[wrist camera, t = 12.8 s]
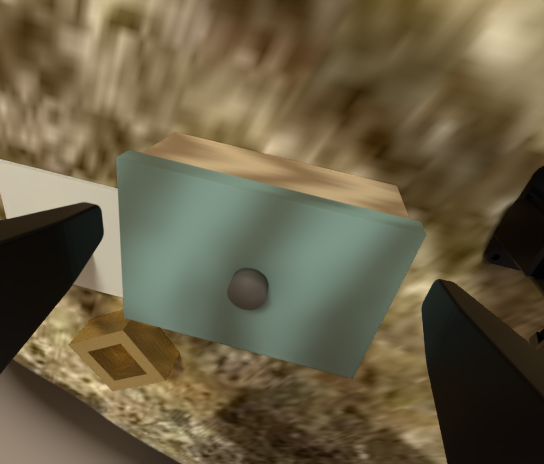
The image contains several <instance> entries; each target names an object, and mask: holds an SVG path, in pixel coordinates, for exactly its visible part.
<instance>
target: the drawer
mask: <svg viewBox="0 0 544 464" xmlns="http://www.w3.org/2000/svg"><path fill="white" fill-rule="evenodd" d="M116 165H117V185H118V206H119V226H120V246H121V267H122V287H123V308H124V318H126V319H130V320H134V321H137V322H141V323H145V324H149V325H152V326H156V327H160V328H164V329H167V330H171V331H175V332H179V333H182V334H186V335H190V336H194V337H197V338H201V339H205V340H209V341H212V342H216V343H220V344H224V345H227V346H231V347H235V348H239V349H242V350H246V351H250V352H254V353H257V354H261V355H265V356H269V357H272V358H276V359H280V360H284V361H287V362H291V363H295V364H299V365H302V366H306V367H310V368H314V369H317V370H321V371H325V372H329V373H332V374H336V375H340V376H343V377H347V378H351V379H353V377H354V375H355V373H356V371H357V369H358V368H359V366H360V364H361V362H362V360H363V358H364V356H365V354H366V352H367V350H368V348H369V346H370V344H371V342H372V340H373V338H374V336H375V334H376V332H377V330H378V328H379V326H380V324H381V322H382V321H383V319H384V317H385V315H386V313H387V311H388V309H389V307H390V305H391V303H392V301H393V299H394V297H395V295H396V293H397V291H398V289H399V287H400V285H401V283H402V281H403V279H404V277H405V275H406V273H407V272H408V270H409V268H410V266H411V264H412V262H413V260H414V258H415V256H416V254H417V252H418V250H419V248H420V246H421V244H422V242H423V240H424V238H425V236H426V233H425V230H424V228H423V226H422V224H421V222H419V221H415V220H411V219H409V216H408V214H407V211H406V209H405V206H404V203H403V201H402V198H401V196H400V193H399V191H398V188H397V186H395V185H391V184H387V183H383V182H379V181H375V180H371V179H366V178H362V177H358V176H354V175H350V174H346V173H342V172H338V171H334V170H330V169H325V168H321V167H317V166H313V165H309V164H305V163H301V162H297V161H293V160H289V159H284V158H280V157H276V156H272V155H268V154H264V153H260V152H256V151H252V150H248V149H243V148H239V147H235V146H231V145H227V144H223V143H219V142H215V141H211V140H207V139H202V138H198V137H194V136H190V135H186V134H182V133H178V132H174V133H173V134H171V135H170V136H168V137H166V138H165V139H163V140H162V141H160V142H158V143H157V144H155V145H154V146H152V147H151V148H149V149H147V150H146V151H144V152H143V153H140V152H136V151H132V150H128V151H127V152H125V153H123V154H121V155H120V156H118V157H116Z"/></svg>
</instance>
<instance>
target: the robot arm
mask: <svg viewBox="0 0 544 464" xmlns="http://www.w3.org/2000/svg"><path fill="white" fill-rule="evenodd" d="M103 236H104V227H103V218H102V210H101V208H100V206H98V205H96V204H92V203H87V202H81V203H77V204H72V205H68V206H63V207H59V208H54V209H50V210H45V211H41V212H36V213H32V214H27V215H23V216H18V217H14V218H9V219H5V220H0V374H1V373H2V372H3V370H4V369H5V368H6V366H7V365H8V364H9V363H10V362H11V360H12V359H13V358H14V357H15V355H16V354H17V353H18V352H19V351H20V349H21V348H22V347H23V346H24V344H25V343H26V342H27V341H28V339H29V338H30V337H31V336H32V335H33V333H34V332H35V331H36V330H37V328H38V327H39V326H40V325H41V323H42V322H43V321H44V320H45V319H46V317H47V316H48V315H49V314H50V312H51V311H52V310H53V309H54V307H55V306H56V305H57V304H58V303H59V301H60V300H61V299H62V298H63V296H64V295H65V294H66V293H67V291H68V290H69V289H70V288H71V286H72V285H73V284H74V282H75V281H76V279H77V278H78V277H79V275H80V273H81V272H82V270H83V269H84V267H85V266H86V264H87V263H88V261H89V259H90V258H91V256H92V255H93V253H94V252H95V250H96V249H97V247H98V245H99V244H100V242H101V241H102V239H103ZM493 254H497V255H496V256H494V257H491V256H492V255H493ZM484 255H485V258H486V259H487V261H488V262H490V263H492V264H496V265H500V266H504V267H508V268H512V269H516V270H520V271H522V272H523V274H524V275H525V276H526V277H529V278H530V279H531V281H532V282H533V283H534V284H535V286H536V287H537V288H538V290H539V291H540V292H541V293H542V295H543V296H544V166H542V167H541V168H539V169H538V170H537V171H536V173H535V174H534V176H533V178H532V179H531V181H530V182H529V184H528V185H527V187H526V189H525V190H524V192H523V193H522V195H521V196H520V198H518V199H517V200H516V201H515V203H514V204H513V206H512V207H511V209H510V211H509V212H508V214H507V215H506V217H505V218H504V220H503V222H502V223H501V225H500V226H499V228H498V229H497V231H496V233H495V237H494V239H493V240H492V242H491V243H490V245H489V247H488V248H487V250H486V251H485V254H484ZM422 321H423V332H424V343H425V355H426V363H427V368H428V374H429V378H430V383H431V388H432V392H433V397H434V402H435V407H436V411H437V416H438V421H439V426H440V430H441V435H442V440H443V444H444V449H445V454H446V459H447V463H448V464H544V329H543V330H542V331H541V332H536V333H535V334H534V335H533V336H532V337H531V338H529V342H530V343H528V342H527V341H526V340H525V339H524V338H522V337H521V336H520V335H519V334H517V333H516V332H515V331H514V330H512V329H511V328H510V327H509V326H507V325H506V324H505V323H504V322H502V321H501V320H500V319H499V318H498V317H496V316H495V315H494V314H493V313H491V312H490V311H489V310H488V309H486V308H485V307H484V306H483V305H481V304H480V303H479V302H478V301H476V300H475V299H474V298H473V297H472V296H470V295H469V294H468V293H467V292H465V291H464V290H463V289H462V288H460V287H459V286H458V285H457V284H455V283H454V282H451V281H446V280H442V279H438V280H436V281H435V282H434V283H433V284H432V286H431V288H430V290H429V292H428V294H427V296H426V298H425V300H424V302H423V304H422Z"/></svg>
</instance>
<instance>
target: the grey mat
mask: <svg viewBox="0 0 544 464" xmlns="http://www.w3.org/2000/svg"><path fill="white" fill-rule="evenodd" d="M0 193H1V197H2V201H3V205H4V209H5V213H6V217H7V219H9V218H14V217H18V216H23V215H27V214H32V213H36V212H41V211H45V210H50V209H54V208H59V207H63V206H68V205H72V204H77V203H81V202H87V203H92V204H96V205H98V206H100V208H101V210H102V218H103V227H104V236H103V239H102V241H101V242H100V244H99V245H98V247H97V249H96V250H95V252H94V253H93V255H92V256H91V258H90V259H89V261H88V263H87V264H86V266H85V267H84V269H83V270H82V272H81V273H80V275H79V277H78V278H77V279H76V281H75V282H74V284H73V285H77V286H81V287H84V288H88V289H92V290H96V291H99V292H103V293H107V294H111V295H115V296H118V297H122V298H123V287H122V267H121V246H120V226H119V206H118V189H117V188H113V187H109V186H105V185H101V184H97V183H93V182H89V181H85V180H81V179H77V178H73V177H69V176H65V175H61V174H57V173H53V172H50V171H46V170H42V169H38V168H34V167H30V166H26V165H22V164H18V163H14V162H10V161H6V160H2V159H0Z"/></svg>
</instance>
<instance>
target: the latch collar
mask: <svg viewBox="0 0 544 464" xmlns="http://www.w3.org/2000/svg"><path fill="white" fill-rule="evenodd" d="M69 346H70V347H71V348H72V349H73V350H74V351H75V352H76V353H77V354H78V355H79V356H80V358H81V359H82V360H83V361H84V362H85V363H86V364H87V365H88V366H89V367H90V368H91V369H92V370H93V371H94V372H95V373H96V374H97V375H98V376H99V377H100V378H101V379H102V380H103V381H104V382H105V384H106V385H107V386H108V387H109V388H110V389H111V390H112V391H116V390H121V389H126V388H132V387H137V386H142V385H147V384H153V383H158V382H163V381H166V380H167V378H168V376H169V373H170V371H171V369H172V367H173V365H174V363H175V361H176V359H177V357H178V355H179V352H178V351H177V349H176V348H175V347H174V346H173V344H172V343H171V342H170V340H169V339H168V338H167V337H166V335H165V334H164V333H163V332H162V330H161V329H160V328H159V327H156V326H152V325H149V324H145V323H141V322H137V321H134V320H130V319H126V318H124V310H121V311H117V312H114V313H111V314H107V315H104V316H101V317H97V318H94V319H91V320H89V321H88V323H87V324H86V325H85V326H84V327H83V328H82V330H81V331H80V332H79V333H78V334H77V335H76V337H75V338H74V339H73V340H72V341H71V343H70V344H69Z"/></svg>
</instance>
